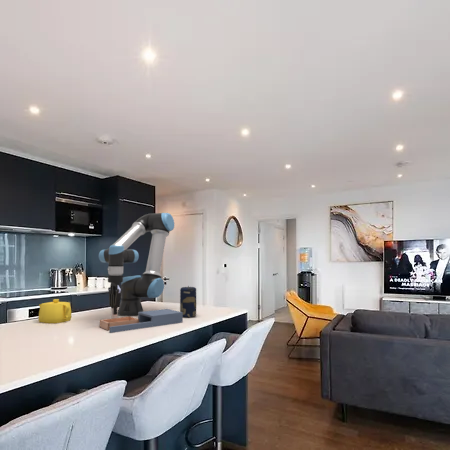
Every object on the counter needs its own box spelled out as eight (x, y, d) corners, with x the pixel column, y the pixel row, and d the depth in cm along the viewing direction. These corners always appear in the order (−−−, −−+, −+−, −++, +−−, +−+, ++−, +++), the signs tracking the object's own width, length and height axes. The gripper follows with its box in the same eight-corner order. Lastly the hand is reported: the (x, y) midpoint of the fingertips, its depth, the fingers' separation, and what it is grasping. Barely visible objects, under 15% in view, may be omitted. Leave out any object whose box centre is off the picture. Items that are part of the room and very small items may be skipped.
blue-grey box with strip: (97, 327, 173) (98, 316, 173) (166, 318, 198) (167, 308, 198) (110, 332, 160) (111, 321, 161) (182, 322, 186) (182, 312, 186)
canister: (197, 315, 208) (197, 285, 210) (194, 318, 199) (194, 286, 200) (181, 315, 209) (182, 284, 211) (178, 317, 200) (178, 286, 201)
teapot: (30, 322, 187) (31, 299, 188) (48, 318, 199) (49, 297, 200) (59, 324, 181) (59, 301, 182) (76, 320, 192) (77, 298, 193)
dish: (99, 327, 174) (99, 319, 174) (129, 323, 184) (129, 316, 184) (107, 330, 165) (108, 323, 165) (138, 326, 175) (139, 319, 176)
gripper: (103, 274, 184) (102, 319, 182) (113, 275, 174) (111, 323, 172) (117, 274, 189) (115, 318, 187) (127, 275, 179) (126, 321, 177)
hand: (113, 320), depth 179 cm, fingers closed
